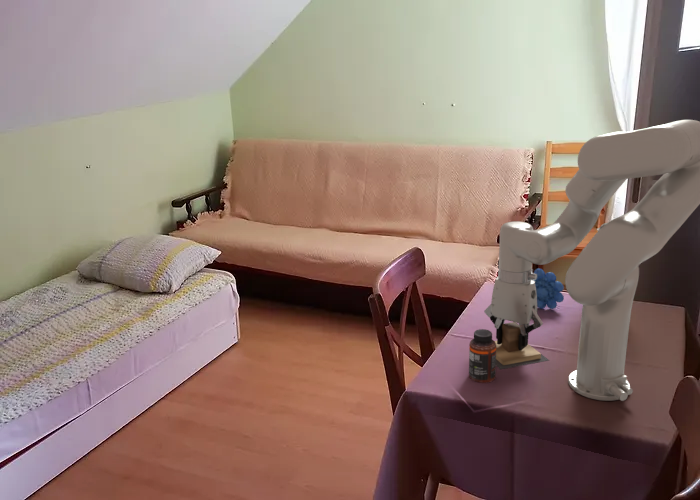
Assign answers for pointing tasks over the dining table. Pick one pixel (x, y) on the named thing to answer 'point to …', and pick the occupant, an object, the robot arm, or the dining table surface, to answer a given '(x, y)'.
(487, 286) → the dining table surface
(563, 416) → the dining table surface
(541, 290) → the blue flower shape
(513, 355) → the oak lid
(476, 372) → the supplement bottle
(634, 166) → the robot arm
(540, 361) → the dark gray mat
